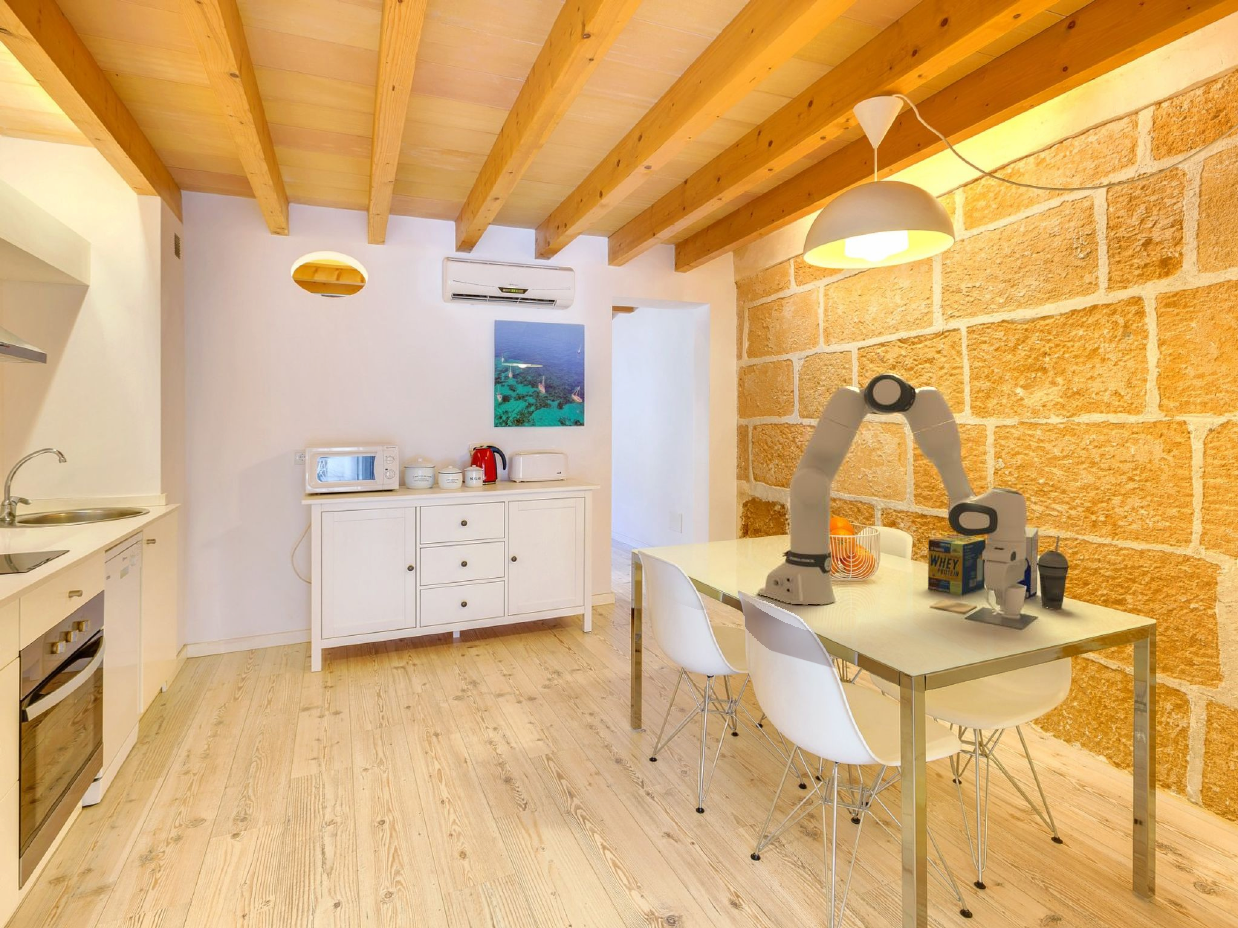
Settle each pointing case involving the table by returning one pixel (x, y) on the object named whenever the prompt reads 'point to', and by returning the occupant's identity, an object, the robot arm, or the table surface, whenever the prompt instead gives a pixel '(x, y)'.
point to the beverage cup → (1052, 577)
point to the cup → (1011, 601)
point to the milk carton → (1030, 562)
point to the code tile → (1000, 618)
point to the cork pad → (953, 606)
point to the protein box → (956, 564)
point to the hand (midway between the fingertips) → (1005, 601)
